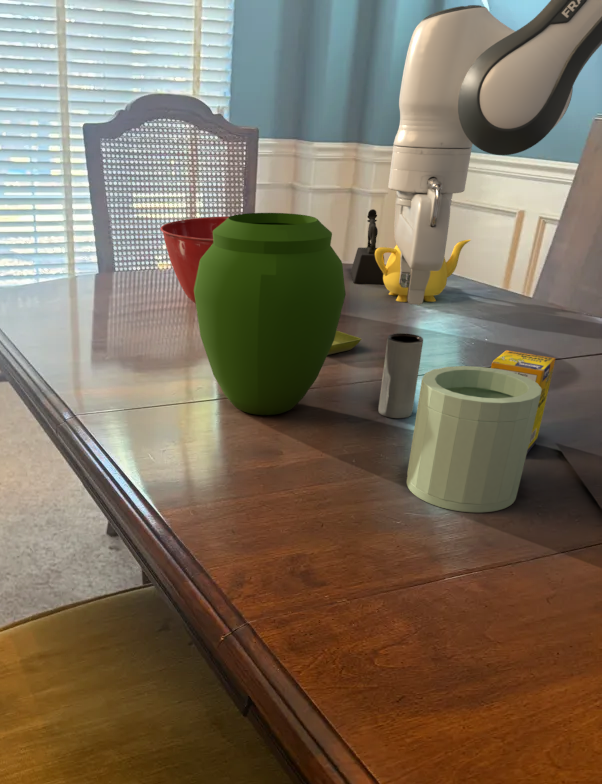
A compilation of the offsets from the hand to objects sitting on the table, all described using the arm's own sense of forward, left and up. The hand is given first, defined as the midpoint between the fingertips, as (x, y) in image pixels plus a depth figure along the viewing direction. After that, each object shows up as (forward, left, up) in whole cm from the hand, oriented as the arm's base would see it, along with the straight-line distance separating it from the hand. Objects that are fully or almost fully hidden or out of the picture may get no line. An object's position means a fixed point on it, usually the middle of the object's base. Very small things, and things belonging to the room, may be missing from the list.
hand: (409, 294), depth 97 cm
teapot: (-11, -73, -16) cm, 76 cm away
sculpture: (-2, -92, -16) cm, 93 cm away
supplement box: (-13, +10, -16) cm, 23 cm away
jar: (-5, +23, -16) cm, 28 cm away
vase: (+18, 0, -16) cm, 24 cm away
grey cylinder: (0, 0, -16) cm, 16 cm away
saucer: (+9, -30, -16) cm, 35 cm away
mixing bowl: (+28, -59, -16) cm, 67 cm away
